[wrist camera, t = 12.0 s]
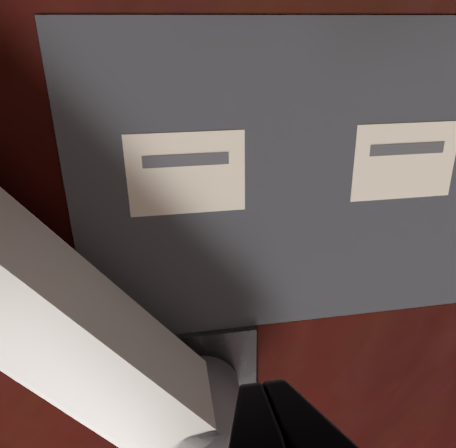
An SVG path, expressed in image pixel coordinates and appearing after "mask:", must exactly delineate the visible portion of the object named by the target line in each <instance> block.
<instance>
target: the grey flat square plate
mask: <svg viewBox="0 0 456 448" xmlns="http://www.w3.org/2000/svg"><path fill="white" fill-rule="evenodd" d="M174 335H175V336H176V337H178V338H179V339H180V340H181V341H182V342H184V343H185V344H186V345H187V346H188V347H189V348H191V349H192V350H193V351H194V352H195V353H196V354H198V355H199V356H211V357H216V358H219V359H221V360H223V361H225V362H227V363H228V364H229V365H230V366H231V367H232V368H233V369H234V371H235V372H236V374H237V378H238V381H239V385H242V384H249V383H256V352H257V329H256V327H255V325H254V326H245V327H236V328H227V329H219V330H210V331H201V332H192V333H183V334H174Z"/></svg>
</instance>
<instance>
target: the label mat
mask: <svg viewBox="0 0 456 448" xmlns="http://www.w3.org/2000/svg"><path fill="white" fill-rule="evenodd" d="M35 20H36V26H37V32H38V38H39V43H40V49H41V55H42V61H43V66H44V72H45V78H46V84H47V90H48V95H49V101H50V107H51V113H52V119H53V124H54V130H55V136H56V142H57V148H58V153H59V159H60V165H61V171H62V177H63V182H64V188H65V194H66V200H67V206H68V211H69V217H70V223H71V229H72V235H73V240H74V246H75V251H76V252H78V253H79V254H80V255H81V256H82V257H84V258H85V259H86V260H87V261H88V262H89V263H91V264H92V265H93V266H94V267H95V268H96V269H98V270H99V271H100V272H101V273H102V274H104V275H105V276H106V277H107V278H108V279H109V280H111V281H112V282H113V283H114V284H115V285H116V286H118V287H119V288H120V289H121V290H122V291H124V292H125V293H126V294H127V295H128V296H129V297H131V298H132V299H133V300H134V301H135V302H136V303H138V304H139V305H140V306H141V307H142V308H144V309H145V310H146V311H147V312H148V313H149V314H151V315H152V316H153V317H154V318H155V319H156V320H158V321H159V322H160V323H161V324H162V325H164V326H165V327H166V328H167V329H168V330H169V331H171V332H172V333H173V334H183V333H192V332H201V331H210V330H219V329H227V328H236V327H245V326H254V325H263V324H272V323H281V322H290V321H298V320H307V319H316V318H325V317H334V316H343V315H352V314H361V313H369V312H378V311H387V310H396V309H405V308H414V307H423V306H432V305H440V304H449V303H456V15H35Z"/></svg>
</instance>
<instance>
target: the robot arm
mask: <svg viewBox="0 0 456 448" xmlns="http://www.w3.org/2000/svg"><path fill="white" fill-rule="evenodd" d="M228 448H359V447H358V446H356V445H355V444H354V443H353V442H352V441H351V440H350V439H349V438H348V437H347V436H346V435H344V434H343V433H342V432H341V431H340V430H339V429H338V428H337V427H336V426H335V425H334V424H332V423H331V422H330V421H329V420H328V419H327V418H326V417H325V416H324V415H323V414H321V413H320V412H319V411H318V410H317V409H316V408H315V407H314V406H313V405H312V404H311V403H309V402H308V401H307V400H306V399H305V398H304V397H303V396H302V395H301V394H300V393H298V392H297V391H296V390H295V389H294V388H293V387H292V386H291V385H290V384H289V383H288V382H286V381H285V380H273V381H266V382H264V383H263V384H261V383H258V382H257V383H249V384H242V385H240V387H239V390H238V396H237V401H236V406H235V412H234V417H233V422H232V428H231V433H230V438H229V444H228Z"/></svg>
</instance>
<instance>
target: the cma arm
mask: <svg viewBox="0 0 456 448" xmlns="http://www.w3.org/2000/svg"><path fill="white" fill-rule="evenodd" d="M0 371H1V372H3V373H4V374H6V375H8V376H9V377H11V378H12V379H14V380H15V381H17V382H18V383H20V384H21V385H23V386H25V387H26V388H28V389H29V390H31V391H32V392H34V393H35V394H37V395H38V396H40V397H42V398H43V399H45V400H46V401H48V402H49V403H51V404H52V405H54V406H55V407H57V408H59V409H60V410H62V411H63V412H65V413H66V414H68V415H69V416H71V417H72V418H74V419H75V420H77V421H79V422H80V423H82V424H83V425H85V426H86V427H88V428H89V429H91V430H92V431H94V432H96V433H97V434H99V435H100V436H102V437H103V438H105V439H106V440H108V441H109V442H111V443H113V444H114V445H116V446H117V447H119V448H228V444H229V438H230V433H231V428H232V422H233V417H234V412H235V406H236V401H237V396H238V390H239V387H240V385H239V381H238V378H237V374H236V372H235V371H234V369H233V368H232V367H231V366H230V365H229V364H228V363H227V362H225V361H223V360H221V359H219V358H216V357H211V356H199V355H198V354H196V353H195V352H194V351H193V350H192V349H191V348H189V347H188V346H187V345H186V344H185V343H184V342H182V341H181V340H180V339H179V338H178V337H176V336H175V335H174V334H173V333H172V332H171V331H169V330H168V329H167V328H166V327H165V326H164V325H162V324H161V323H160V322H159V321H158V320H156V319H155V318H154V317H153V316H152V315H151V314H149V313H148V312H147V311H146V310H145V309H144V308H142V307H141V306H140V305H139V304H138V303H136V302H135V301H134V300H133V299H132V298H131V297H129V296H128V295H127V294H126V293H125V292H124V291H122V290H121V289H120V288H119V287H118V286H116V285H115V284H114V283H113V282H112V281H111V280H109V279H108V278H107V277H106V276H105V275H104V274H102V273H101V272H100V271H99V270H98V269H96V268H95V267H94V266H93V265H92V264H91V263H89V262H88V261H87V260H86V259H85V258H84V257H82V256H81V255H80V254H79V253H78V252H76V251H75V250H74V249H73V248H72V247H71V246H69V245H68V244H67V243H66V242H65V241H64V240H62V239H61V238H60V237H59V236H58V235H56V234H55V233H54V232H53V231H52V230H51V229H49V228H48V227H47V226H46V225H45V224H44V223H42V222H41V221H40V220H39V219H38V218H36V217H35V216H34V215H33V214H32V213H31V212H29V211H28V210H27V209H26V208H25V207H24V206H22V205H21V204H20V203H19V202H18V201H16V200H15V199H14V198H13V197H12V196H11V195H9V194H8V193H7V192H6V191H5V190H4V189H2V188H1V187H0Z"/></svg>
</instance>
